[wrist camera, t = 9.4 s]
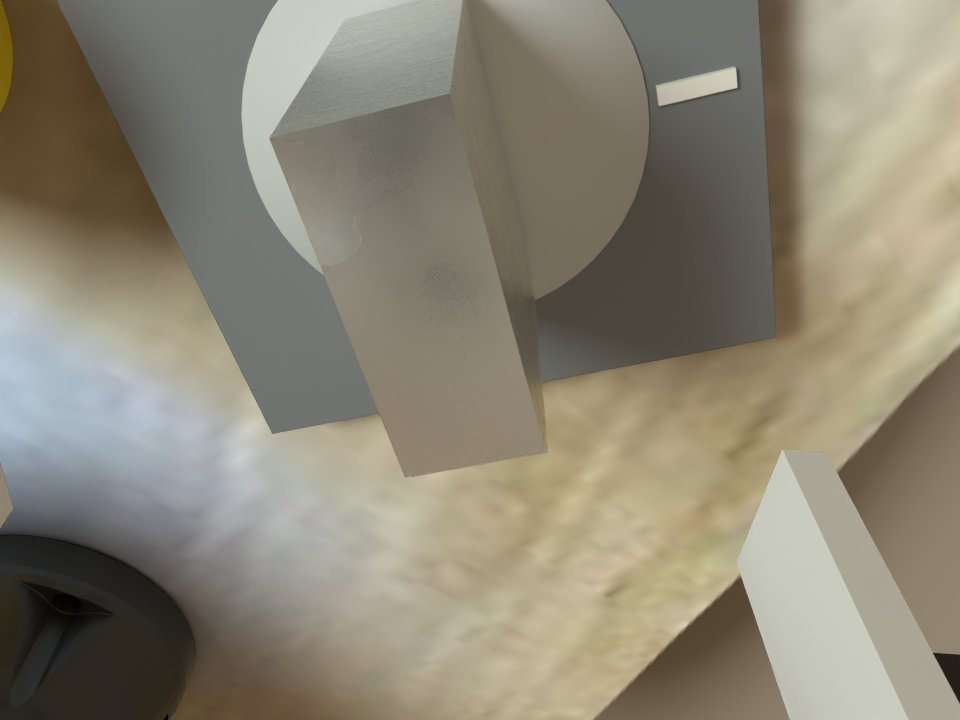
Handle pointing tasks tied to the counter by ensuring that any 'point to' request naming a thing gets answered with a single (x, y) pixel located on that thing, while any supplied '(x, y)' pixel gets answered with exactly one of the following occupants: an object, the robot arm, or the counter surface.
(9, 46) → the yellow toilet paper roll
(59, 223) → the counter surface
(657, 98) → the dial plate
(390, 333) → the dial handle
